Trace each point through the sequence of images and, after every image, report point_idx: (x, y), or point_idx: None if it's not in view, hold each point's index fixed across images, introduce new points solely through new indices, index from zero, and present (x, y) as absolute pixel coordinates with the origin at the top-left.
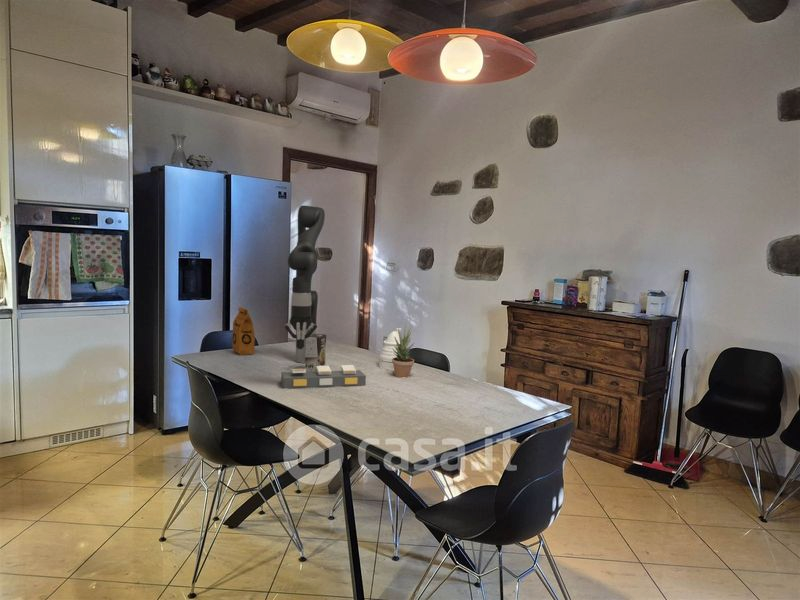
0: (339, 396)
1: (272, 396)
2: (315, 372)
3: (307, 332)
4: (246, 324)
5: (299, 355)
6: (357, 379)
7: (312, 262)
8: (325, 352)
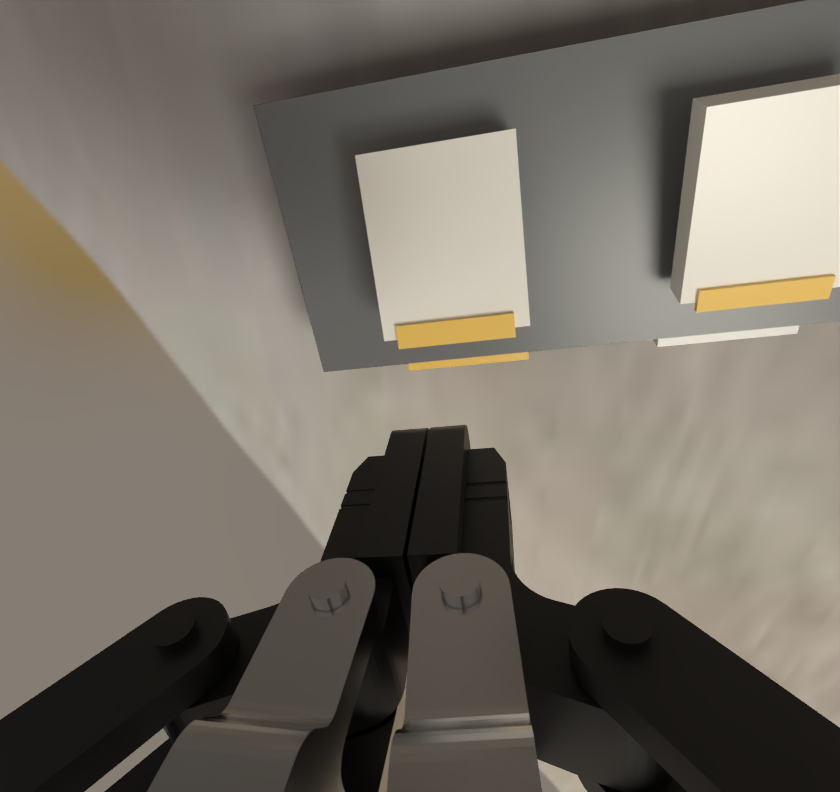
0: (730, 530)
1: (299, 501)
2: (667, 103)
3: (677, 781)
4: None
5: None
6: None
7: None
8: None
